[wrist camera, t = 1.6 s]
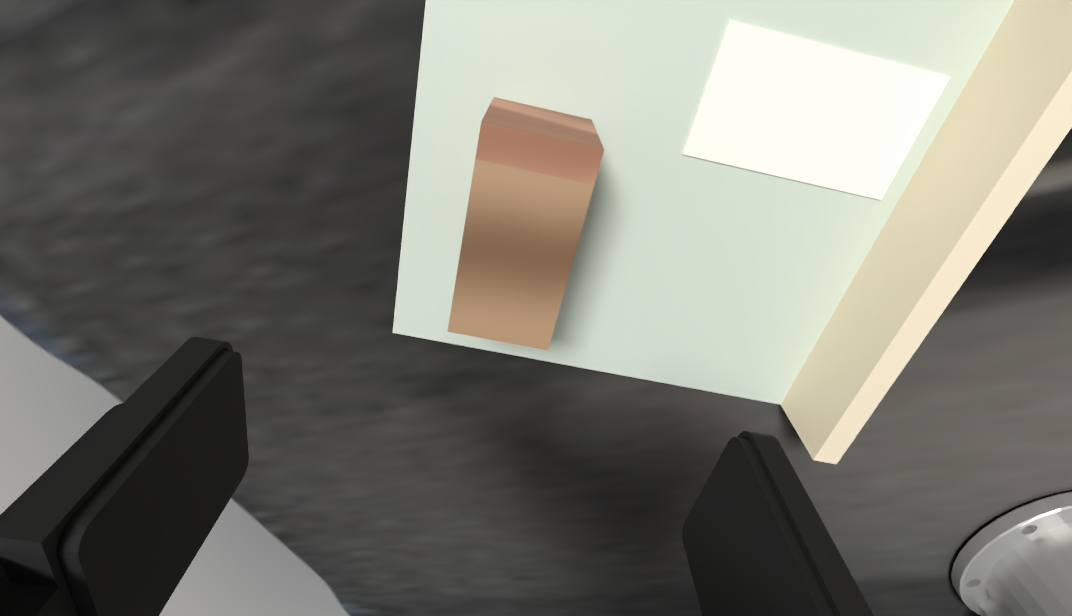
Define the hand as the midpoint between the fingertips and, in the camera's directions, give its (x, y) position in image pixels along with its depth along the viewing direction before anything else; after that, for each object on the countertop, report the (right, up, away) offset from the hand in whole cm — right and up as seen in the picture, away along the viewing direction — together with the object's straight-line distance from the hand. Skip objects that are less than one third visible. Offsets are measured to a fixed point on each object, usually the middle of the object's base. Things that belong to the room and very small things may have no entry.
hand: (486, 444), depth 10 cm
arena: (+7, +10, +12) cm, 17 cm away
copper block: (0, +7, +13) cm, 15 cm away
